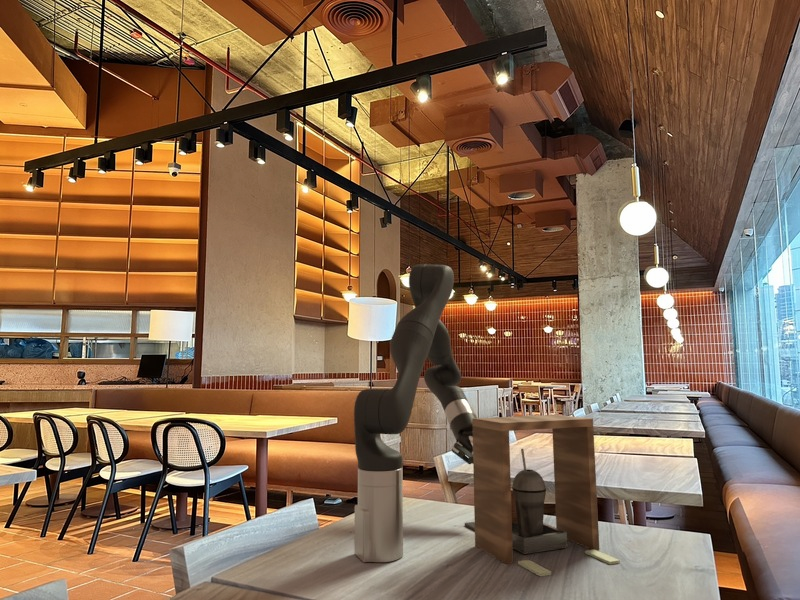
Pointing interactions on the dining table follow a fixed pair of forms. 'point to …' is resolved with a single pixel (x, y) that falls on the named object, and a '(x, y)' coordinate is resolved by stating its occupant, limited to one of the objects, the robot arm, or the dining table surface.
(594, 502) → the tunnel
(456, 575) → the dining table surface
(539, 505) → the beverage cup
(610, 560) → the pair of cream slabs
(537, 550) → the shallow grey tray
